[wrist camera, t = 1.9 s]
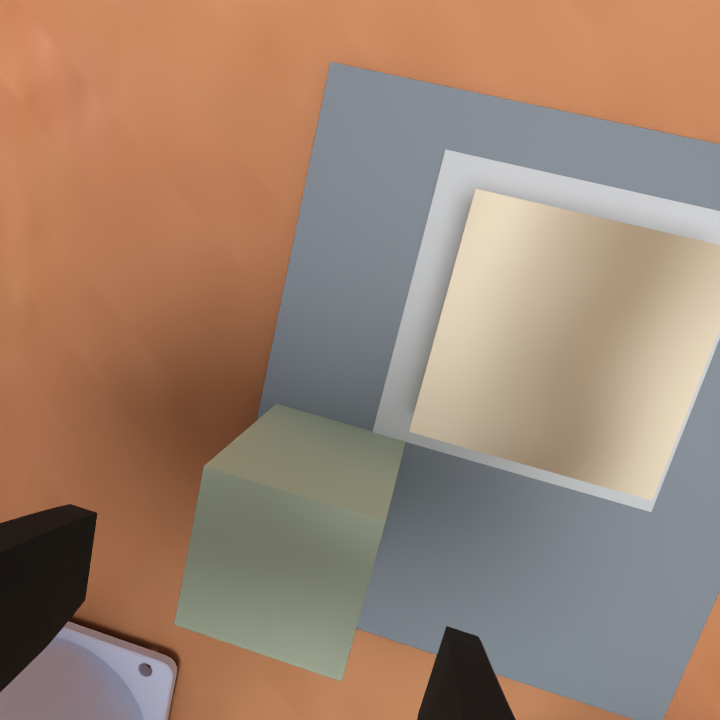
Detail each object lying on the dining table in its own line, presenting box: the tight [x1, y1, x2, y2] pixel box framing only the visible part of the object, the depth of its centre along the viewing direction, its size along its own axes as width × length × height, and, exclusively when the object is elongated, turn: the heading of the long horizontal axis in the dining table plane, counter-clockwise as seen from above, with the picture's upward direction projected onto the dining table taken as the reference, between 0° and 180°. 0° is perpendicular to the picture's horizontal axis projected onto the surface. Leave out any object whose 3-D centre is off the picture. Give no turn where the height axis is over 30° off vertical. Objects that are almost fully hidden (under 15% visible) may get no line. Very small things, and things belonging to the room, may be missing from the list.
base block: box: [409, 189, 720, 501], centre depth 14 cm, size 6×6×2 cm
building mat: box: [256, 62, 720, 720], centre depth 16 cm, size 14×16×1 cm
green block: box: [174, 404, 405, 682], centre depth 14 cm, size 4×4×5 cm
